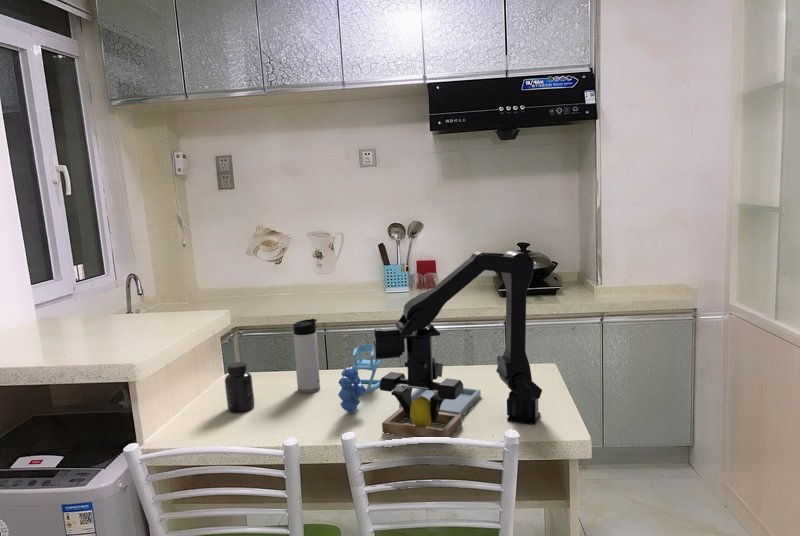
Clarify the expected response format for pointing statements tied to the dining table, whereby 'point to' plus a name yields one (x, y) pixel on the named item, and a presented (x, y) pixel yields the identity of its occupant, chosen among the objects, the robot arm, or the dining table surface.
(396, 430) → the holder
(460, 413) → the tray
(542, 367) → the dining table surface
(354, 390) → the grapes
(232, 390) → the supplement bottle
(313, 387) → the travel mug
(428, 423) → the lemon
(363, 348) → the chair
